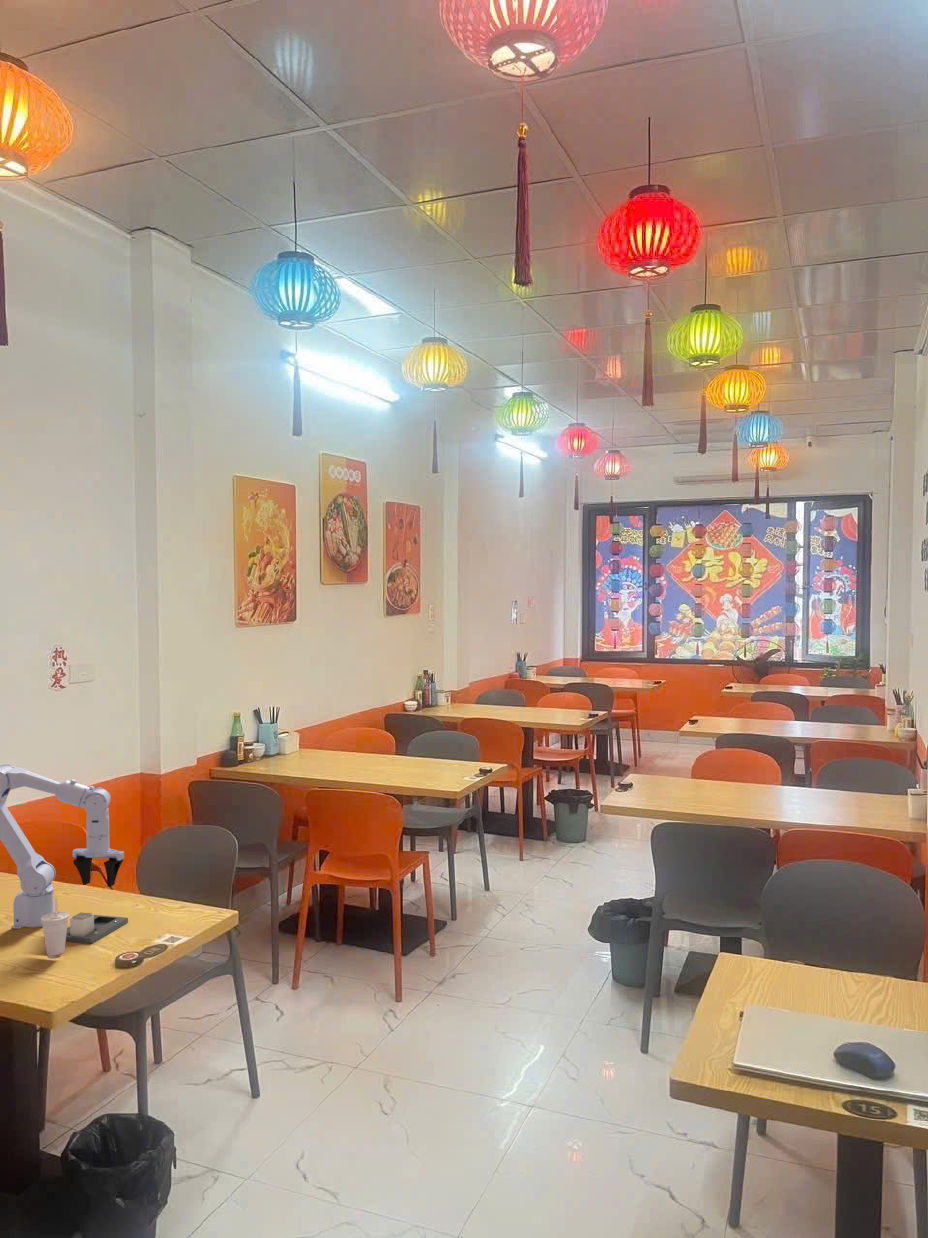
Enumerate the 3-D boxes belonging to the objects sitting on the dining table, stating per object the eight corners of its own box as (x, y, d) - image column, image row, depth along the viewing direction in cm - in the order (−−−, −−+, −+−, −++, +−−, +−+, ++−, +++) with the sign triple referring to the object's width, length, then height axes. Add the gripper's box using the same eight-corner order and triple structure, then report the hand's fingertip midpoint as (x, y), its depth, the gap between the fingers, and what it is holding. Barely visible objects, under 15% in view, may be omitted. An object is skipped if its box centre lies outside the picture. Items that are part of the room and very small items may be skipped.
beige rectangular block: (70, 938, 222) (69, 917, 221) (80, 933, 225) (80, 911, 225) (84, 940, 221) (83, 918, 221) (94, 934, 225) (93, 913, 224)
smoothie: (51, 963, 209) (50, 904, 208) (35, 957, 212) (34, 900, 212) (75, 953, 214) (74, 897, 214) (59, 948, 217) (59, 892, 217)
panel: (53, 943, 221) (53, 934, 221) (92, 922, 235) (91, 914, 235) (91, 947, 218) (91, 938, 218) (128, 925, 233) (128, 917, 233)
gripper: (64, 837, 233) (65, 887, 234) (112, 840, 230) (113, 891, 230) (81, 830, 240) (82, 879, 240) (128, 833, 237) (129, 883, 237)
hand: (98, 884), depth 236 cm, fingers open, 7 cm apart
